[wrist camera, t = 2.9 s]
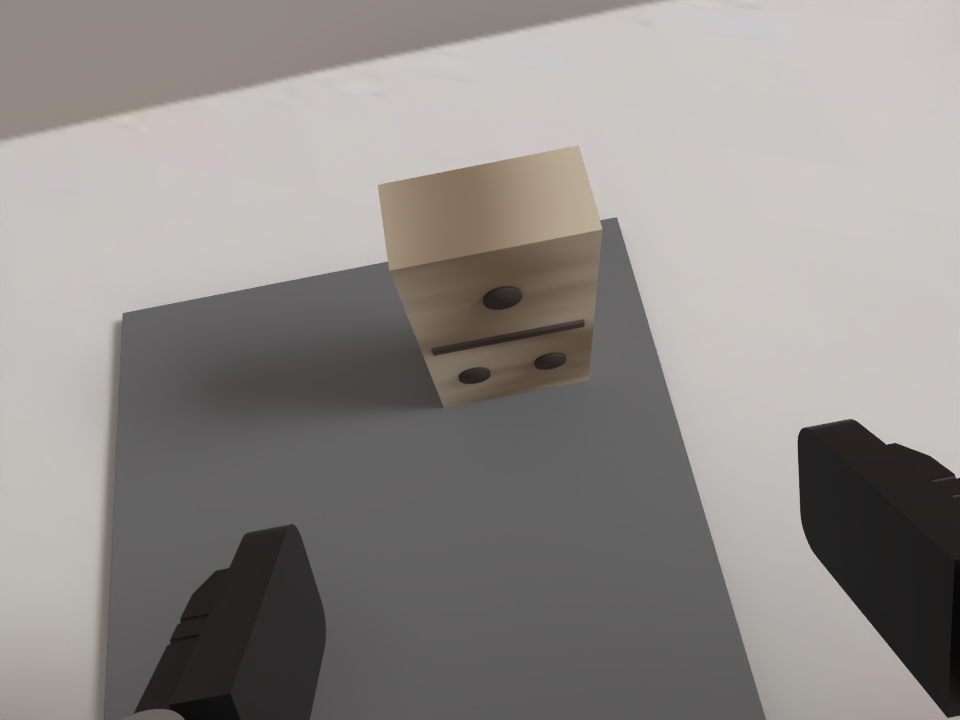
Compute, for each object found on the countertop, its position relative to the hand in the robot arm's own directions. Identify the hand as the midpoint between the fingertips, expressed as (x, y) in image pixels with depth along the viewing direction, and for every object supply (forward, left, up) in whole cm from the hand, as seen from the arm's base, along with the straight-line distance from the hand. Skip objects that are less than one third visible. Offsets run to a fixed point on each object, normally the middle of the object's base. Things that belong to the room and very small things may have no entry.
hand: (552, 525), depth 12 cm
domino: (0, -8, -12) cm, 14 cm away
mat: (+4, -1, -12) cm, 13 cm away
